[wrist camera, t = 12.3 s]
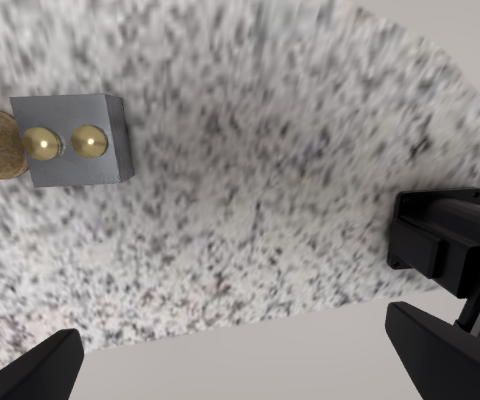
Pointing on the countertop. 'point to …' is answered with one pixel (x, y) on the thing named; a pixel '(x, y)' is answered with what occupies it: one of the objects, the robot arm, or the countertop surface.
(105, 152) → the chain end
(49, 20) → the countertop surface
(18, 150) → the sprinkles bottle
